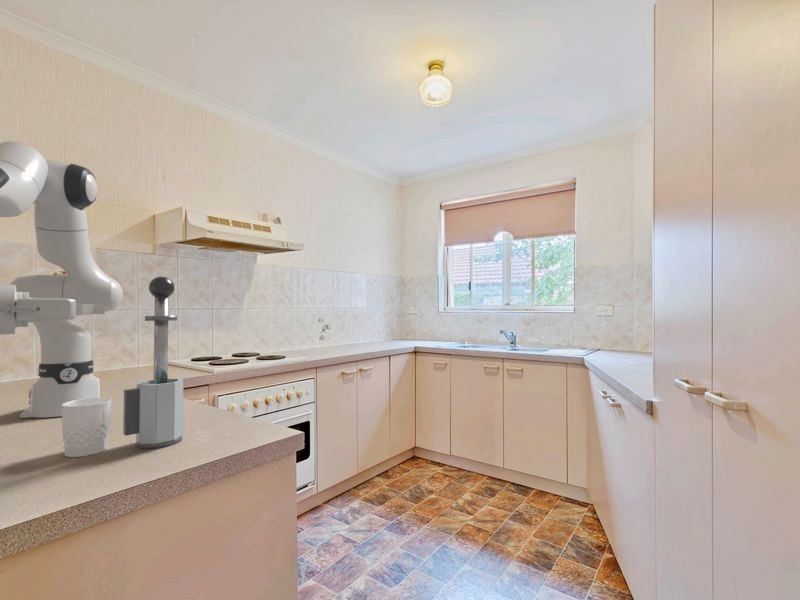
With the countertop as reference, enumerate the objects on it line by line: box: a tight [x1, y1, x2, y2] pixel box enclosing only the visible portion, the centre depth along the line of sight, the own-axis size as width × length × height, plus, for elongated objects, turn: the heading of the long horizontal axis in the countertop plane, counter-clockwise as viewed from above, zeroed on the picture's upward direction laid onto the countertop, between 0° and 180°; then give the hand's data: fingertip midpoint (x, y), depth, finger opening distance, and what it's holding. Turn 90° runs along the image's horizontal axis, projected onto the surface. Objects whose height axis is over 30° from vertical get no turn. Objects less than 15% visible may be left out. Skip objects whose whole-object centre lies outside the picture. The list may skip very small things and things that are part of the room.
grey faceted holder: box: [122, 377, 184, 450], centre depth 84 cm, size 8×11×13 cm
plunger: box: [144, 276, 178, 384], centre depth 85 cm, size 6×6×26 cm
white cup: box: [61, 397, 112, 458], centre depth 79 cm, size 8×8×10 cm
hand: (101, 309), depth 78 cm, fingers open, 8 cm apart
